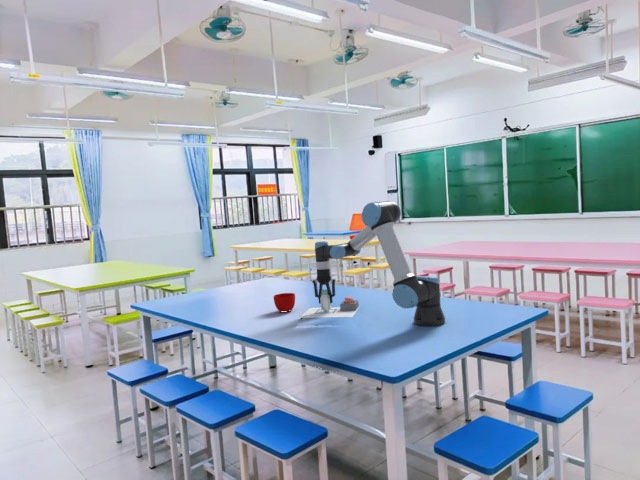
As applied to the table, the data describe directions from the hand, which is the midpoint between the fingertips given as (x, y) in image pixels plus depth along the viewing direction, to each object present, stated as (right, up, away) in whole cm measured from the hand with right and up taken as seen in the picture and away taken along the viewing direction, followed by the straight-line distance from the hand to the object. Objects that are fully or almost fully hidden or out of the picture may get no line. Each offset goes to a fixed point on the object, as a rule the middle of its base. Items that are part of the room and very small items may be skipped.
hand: (326, 308), depth 264 cm
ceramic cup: (-24, -4, +15) cm, 29 cm away
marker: (0, -1, 0) cm, 1 cm away
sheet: (+2, -3, -2) cm, 4 cm away
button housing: (+14, 0, +2) cm, 14 cm away
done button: (+13, +2, +2) cm, 14 cm away
